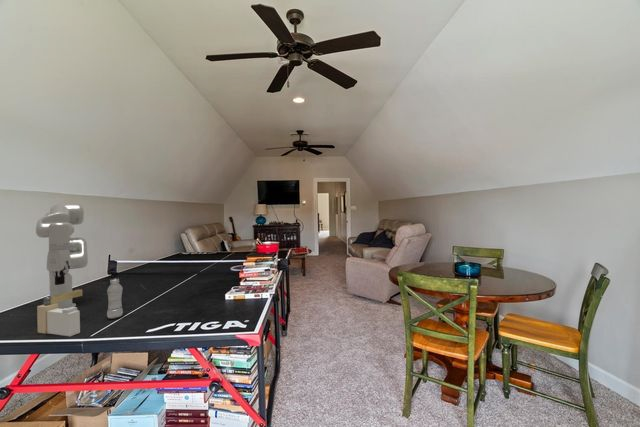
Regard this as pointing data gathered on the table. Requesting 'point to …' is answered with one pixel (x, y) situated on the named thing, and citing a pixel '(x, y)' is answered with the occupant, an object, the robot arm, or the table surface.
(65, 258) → the robot arm
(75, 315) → the cream stepped two-tone block
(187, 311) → the table surface
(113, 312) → the plastic bottle
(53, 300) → the swing bar
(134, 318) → the table surface
